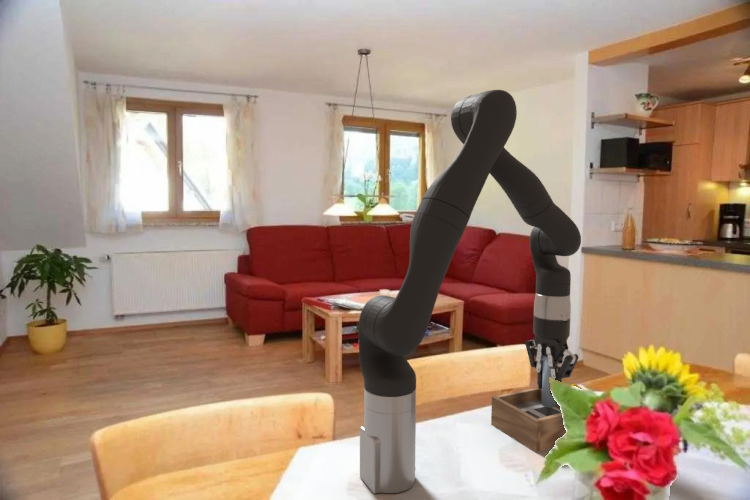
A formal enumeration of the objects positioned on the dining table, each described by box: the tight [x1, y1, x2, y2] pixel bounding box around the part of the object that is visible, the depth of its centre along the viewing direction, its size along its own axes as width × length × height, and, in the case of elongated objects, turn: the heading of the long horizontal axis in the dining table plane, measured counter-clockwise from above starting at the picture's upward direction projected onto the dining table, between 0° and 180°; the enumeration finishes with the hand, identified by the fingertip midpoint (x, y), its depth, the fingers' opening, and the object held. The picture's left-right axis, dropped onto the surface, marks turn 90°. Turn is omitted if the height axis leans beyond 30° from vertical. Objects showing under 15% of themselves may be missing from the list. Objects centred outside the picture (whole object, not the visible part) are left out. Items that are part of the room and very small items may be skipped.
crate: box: [490, 386, 566, 454], centre depth 109 cm, size 14×14×6 cm
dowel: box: [541, 356, 558, 408], centre depth 110 cm, size 3×3×11 cm
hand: (548, 391), depth 110 cm, fingers closed on dowel, 3 cm apart
